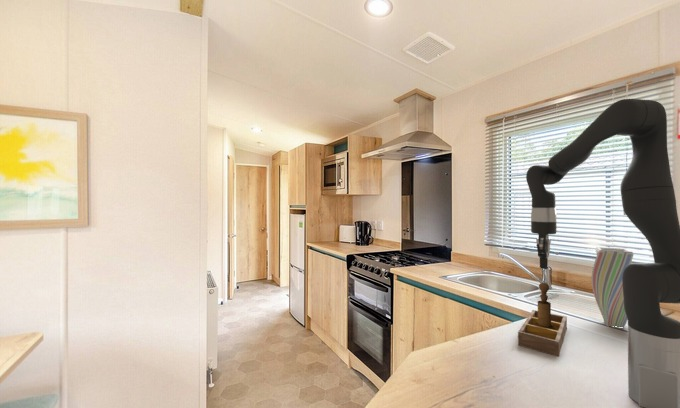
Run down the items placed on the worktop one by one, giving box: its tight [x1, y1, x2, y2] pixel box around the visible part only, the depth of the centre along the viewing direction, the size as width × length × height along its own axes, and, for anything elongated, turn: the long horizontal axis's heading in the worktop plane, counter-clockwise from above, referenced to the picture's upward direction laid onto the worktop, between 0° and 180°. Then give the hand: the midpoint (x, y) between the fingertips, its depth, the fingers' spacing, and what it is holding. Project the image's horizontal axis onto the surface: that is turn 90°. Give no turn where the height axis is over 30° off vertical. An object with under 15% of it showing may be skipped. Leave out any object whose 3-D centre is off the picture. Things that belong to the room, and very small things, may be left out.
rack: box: [517, 309, 568, 357], centre depth 105 cm, size 28×11×4 cm, turn 138°
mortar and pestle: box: [533, 282, 556, 330], centre depth 105 cm, size 7×6×18 cm
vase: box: [591, 246, 635, 329], centre depth 114 cm, size 14×14×30 cm
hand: (543, 268), depth 105 cm, fingers closed
